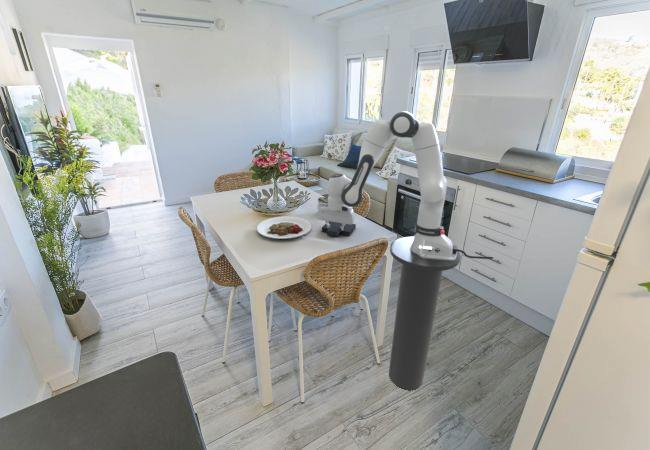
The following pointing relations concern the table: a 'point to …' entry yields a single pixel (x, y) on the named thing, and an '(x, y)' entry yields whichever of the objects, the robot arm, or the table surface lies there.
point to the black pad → (346, 231)
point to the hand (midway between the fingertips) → (335, 229)
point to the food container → (323, 200)
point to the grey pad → (334, 230)
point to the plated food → (284, 227)
